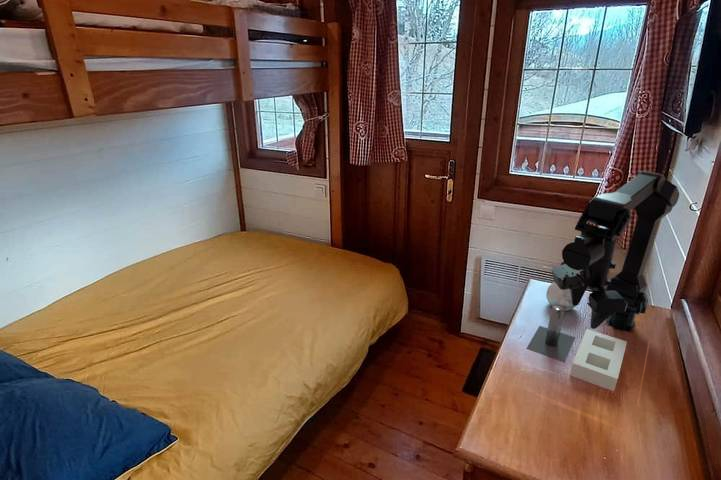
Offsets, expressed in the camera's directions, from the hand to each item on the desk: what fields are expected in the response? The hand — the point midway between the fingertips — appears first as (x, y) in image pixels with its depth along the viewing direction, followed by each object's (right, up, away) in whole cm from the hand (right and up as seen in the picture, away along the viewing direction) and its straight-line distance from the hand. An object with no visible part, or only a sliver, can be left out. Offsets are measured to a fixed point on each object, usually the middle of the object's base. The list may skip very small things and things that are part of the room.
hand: (583, 316), depth 100 cm
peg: (-3, -9, +11) cm, 14 cm away
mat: (-3, -9, +11) cm, 15 cm away
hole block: (+5, -12, +4) cm, 14 cm away
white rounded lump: (+7, -3, +26) cm, 27 cm away
